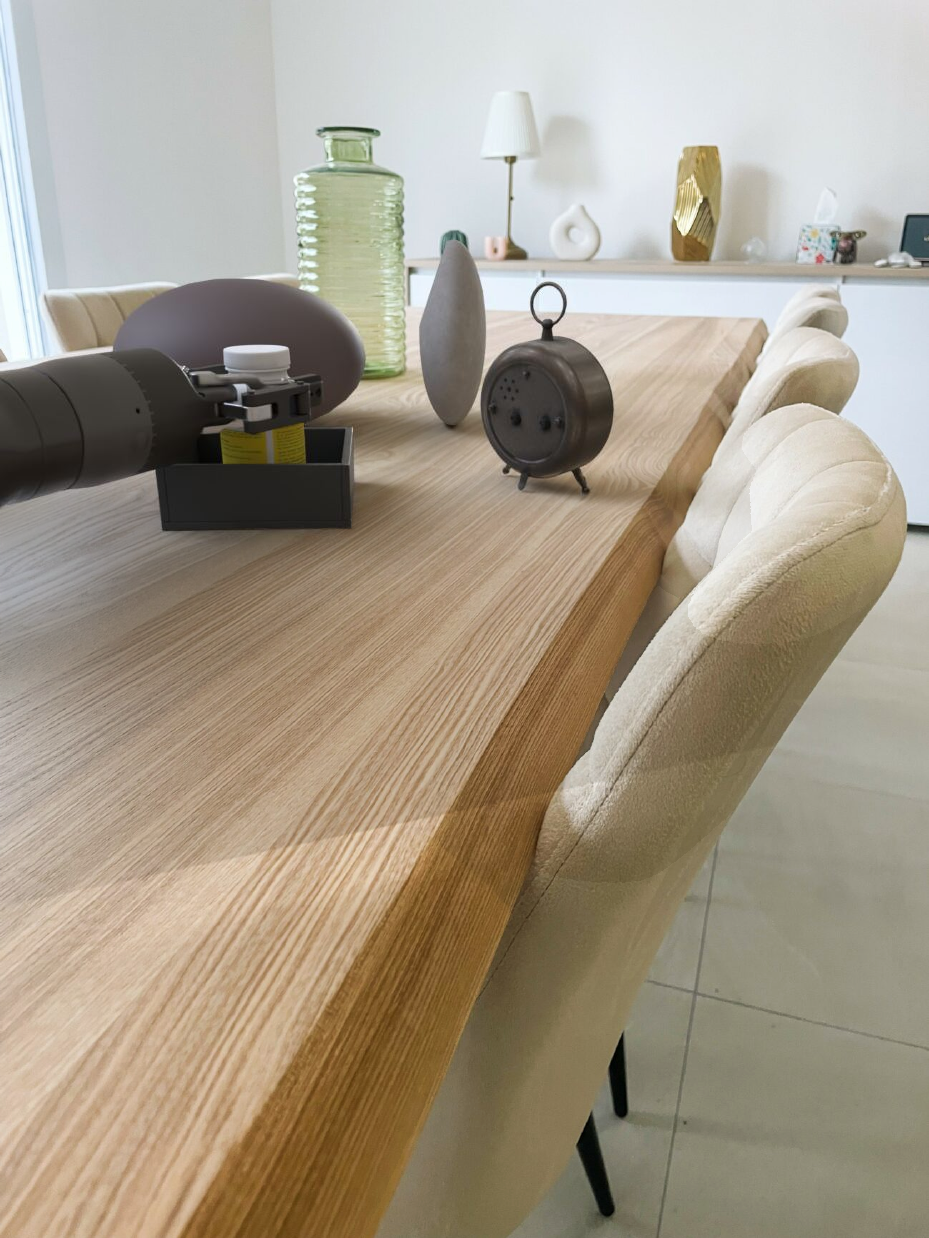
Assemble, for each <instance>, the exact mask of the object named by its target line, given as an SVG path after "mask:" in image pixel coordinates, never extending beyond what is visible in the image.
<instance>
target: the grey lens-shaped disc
mask: <svg viewBox="0 0 929 1238" xmlns="http://www.w3.org/2000/svg"><path fill="white" fill-rule="evenodd" d="M480 277H481V276H480V274H479V271H478V267H477V264H476V262H475V260H474V258H473V255H472V254H471V252H470V250H469V249H468V248H467V247H466V245H465V244H464V243H463V242H462V241H460V240H457V239H449V240H447V241H446V242H445V245H444V248H443V251H442V254H441V258H440V260H439V264H438V266H437V270H436V273H435V276H434V279H433V281H432V285H431V288H430V291H429V294H428V297H427V300H426V302H425V307H424V309H423V312H422V316H421V319H420V322H419V326H418V339H419V341H418V342H419V343H418V344H419V357H420V366H421V372H422V378H423V383H424V384H423V385H424V388H425V392H426V394H427V398H428V400H429V402H430V405H431V408H432V409H433V410H434V413H435V414H436V415H437V417H438V418H439V420H441V422H443V423H444V424H446V425H449V426H454V425H458V424H460V423H461V422H462V421H464V420H465V419H466V418H467V416H468V415H469V414H470V412H471V410H472V408H473V406H474V404H475V401H476V399H477V396H478V393H479V390H480V386H481V381H482V377H483V372H484V366H485V360H486V359H485V358H486V345H487V319H486V318H487V317H486V316H487V315H486V306H485V296H484V295H485V294H484V290H483V286H482V281H481V278H480Z"/></svg>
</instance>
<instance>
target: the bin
mask: <svg viewBox="0 0 929 1238" xmlns="http://www.w3.org/2000/svg"><path fill="white" fill-rule="evenodd" d="M304 437H305V455H306V463H269V464H223V457H222V447H221V436H220V432H219V433H212V434H200V435H199V437H198V439H197V441H196V443H195V445H194V447H193V449H192V450H191V452H190V453H189V454H188V455H187V456H186V457H185V458H184V459H183V460H182V461H180V462H178V463H176V464H173V465H170V466H166V467H163V468H159V469H156V470H154V471H155V480H156V487H157V495H158V496H157V498H158V505H159V515H160V523H161V525H160V526H161V530H162V531H204V530H205V531H207V530H208V531H209V530H213V531H215V530H216V531H217V530H222V531H223V530H225V531H226V530H308V529H309V530H311V529H313V530H314V529H315V530H317V529H318V530H319V529H321V530H322V529H323V530H325V529H327V530H328V529H352V525H353V510H354V509H353V508H354V495H355V455H354V454H355V450H354V427H353V426H352V427H351V426H347V427H344V426H342V427H341V426H339V427H337V426H335V427H334V426H333V427H332V426H321V427H320V426H317V427H316V426H313V427H312V426H306V427H305V426H304Z"/></svg>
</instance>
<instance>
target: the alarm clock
mask: <svg viewBox="0 0 929 1238" xmlns="http://www.w3.org/2000/svg"><path fill="white" fill-rule="evenodd" d="M544 287H553V288H555V289H556V291H558V292H559V294H560V296H561V299H562V310H561V312H560V315H559V316H558V318H557V319H556V320H553V319H551V318H545V319H543V320H541V319H540V318H539V317H538V316H537V314H536V310H535V307H534V304H535V298H536V295H537V294H538V293H539V292H540V290H541V289H543V288H544ZM529 300H530V301H529V308H530V313H531V315H532V317H533V319H534V320H535V321H536V323H537V324H540V325H541V328H542V331H541V337H539V338H537V339H531V340H527V341H522V342H519V343H516V344H513V345H511V346H509V347H507V348H506V349H504V350H503V351H502V352H500V353H499V354H498V355H497V356H496V358H494V360H493V361H492V363H491V364H490V366H489V368H488V370H487V371H486V374H485V376H484V378H483V381H482V386H481V391H480V402H479V404H480V416H481V421H482V426H483V429H484V432H485V436H486V438H487V440H488V443H489V444H490V445H491V448H492V449H493V450H494V452H495V453H496V455H497V456H498V457H499V459H500V460H502V462H503V463H505V466H503V468H502V472H501V473H502V474H503V475H508V474H510V471H511V469H512V471H514V472H517V473H518V474H520V476H519V481H518V484H517V489H518V490H519V491H524V489H525V487H526V485H527V483H528V479H529V478H531V479H538V480H539V479H544V480H545V479H552V478H554V477H555V478H556V477H557V476H561V475H564V474H566V473H570V472H571V474H572V475H573V477H574V479H575V481H576V483H578V485H579V486H580V487H581V493H582V495H583V494H584V495H588V494H589V493H590V492H591V488H590V487H588V484H587V478H586V477H585V476H584V474H583V472H582V469H581V468H582V467H584V466H587V465H588V464H590V463H591V462H593V461H594V460H595V459H596V458H597V457H598V456H599V455H600V453H601V452H602V451H603V449H604V448H605V446H606V444H607V442H608V439H609V437H610V435H611V432H612V427H613V421H614V413H615V408H614V407H615V404H614V403H615V402H614V396H613V391H612V386H611V383H610V381H609V378H608V376H607V373H606V371H605V369H604V367H603V366H602V364H601V363H600V361H599V360H598V359H597V357H596V356H595V355H594V354H593V353H592V351H590V350H589V349H588V348H587V347H586V346H585V345H583V344H582V343H580V342H579V341H578V340H577V341H576V340H575V339H572V338H570V337H566V336H562V335H554V334H553V333H554V332H553V328H554V326H555V325H557V324H558V323H560V321H561V320H562V318H564V316H565V313H566V310H567V306H568V298H567V294H566V292H565V291H564V289H563V288H562V286H560V284H558V283H557V282H554V281H543V282H541V283H540V284H538V285H537V286H536V288H535V289H534V290H533V291H532V293H531V296H530V298H529Z"/></svg>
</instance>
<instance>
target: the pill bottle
mask: <svg viewBox="0 0 929 1238" xmlns="http://www.w3.org/2000/svg"><path fill="white" fill-rule="evenodd" d="M223 354H224V365H225V366H226V367H225V369H226V370H228V371H229V374H241V373H253V374H254V375H256V376H258V377H259V378H260V379H261V380H274V379H281V378H290V377H289V376H288V375H287V369H289V368H290V366H289V365H290V354H289V348H288V347H285V346H278V345H244V346H232V347H227V348H225V349H224V350H223ZM233 385H234V386H235V387H236V389H237V395H238V401H242V400H241V393H244V392H247V387H246V385H245V384H233ZM304 427H305V424H304V423H299V424H295V425H291V426H286V427H282V428H278V429H274V430H270V431H266V432H262V433H258V434H256V435H250V433H244V428H230V429H223V430H222V431H221V432H220V436H221V447H222V457H223V464H269V463H306V455H305V437H304Z"/></svg>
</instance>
